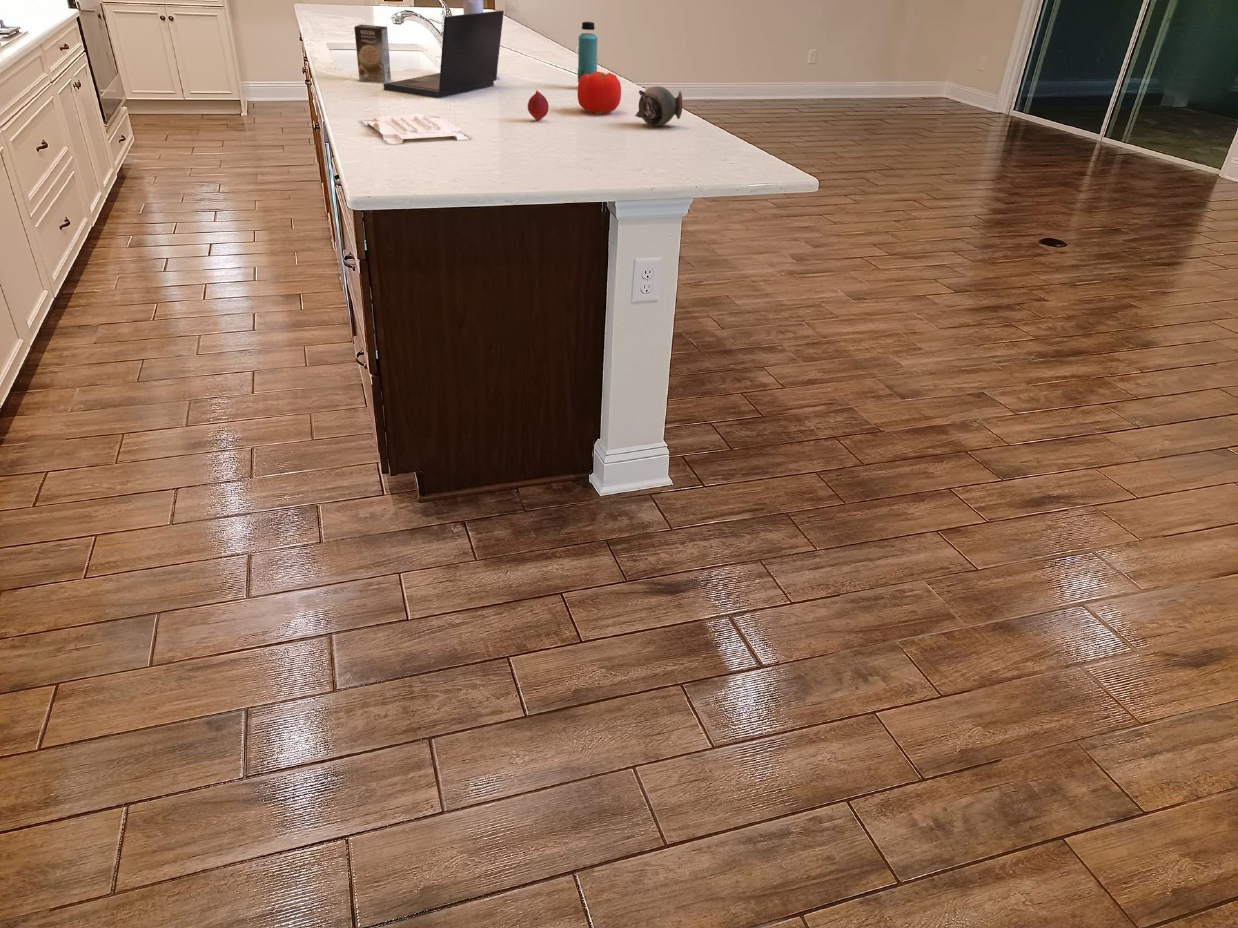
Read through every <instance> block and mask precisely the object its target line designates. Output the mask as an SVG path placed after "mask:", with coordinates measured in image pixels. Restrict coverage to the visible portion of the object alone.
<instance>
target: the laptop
mask: <svg viewBox="0 0 1238 928" xmlns="http://www.w3.org/2000/svg"><path fill="white" fill-rule="evenodd" d="M439 83H440V72H437V73H432V74H428V75H427V74H426V75H422V76H417V77H411V78H407V79H400V80H396V81H389V82H386V83H383V90H384V91H390V92H396V93H403V94H408V95H409V94H410V95H416V96H422V97H423V96H424V97H429V98H437V99H441V98H445V97H450V96H453V95H458V94H463V93H467V92H473V91H476V90H481V89H485V88H489V87H494V86H495V81H491V82H487V83H482V84H478V85H473V86H468V87H464V88H459V89H455V90H450V91H446V92H439Z"/></svg>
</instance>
